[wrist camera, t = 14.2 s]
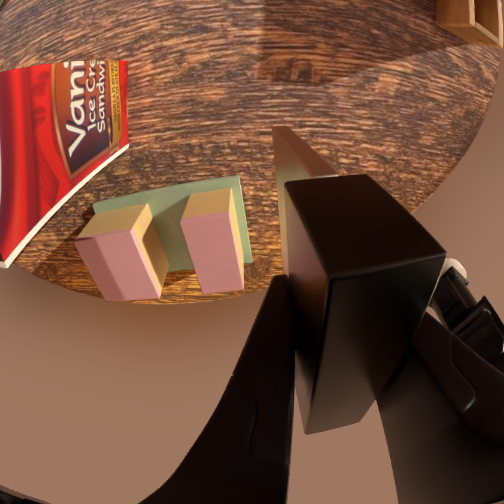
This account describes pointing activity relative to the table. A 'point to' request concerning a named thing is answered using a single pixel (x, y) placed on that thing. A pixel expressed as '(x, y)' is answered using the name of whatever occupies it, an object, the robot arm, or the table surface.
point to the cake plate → (180, 215)
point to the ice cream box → (55, 139)
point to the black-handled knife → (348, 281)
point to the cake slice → (214, 240)
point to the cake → (124, 254)
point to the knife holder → (472, 20)
